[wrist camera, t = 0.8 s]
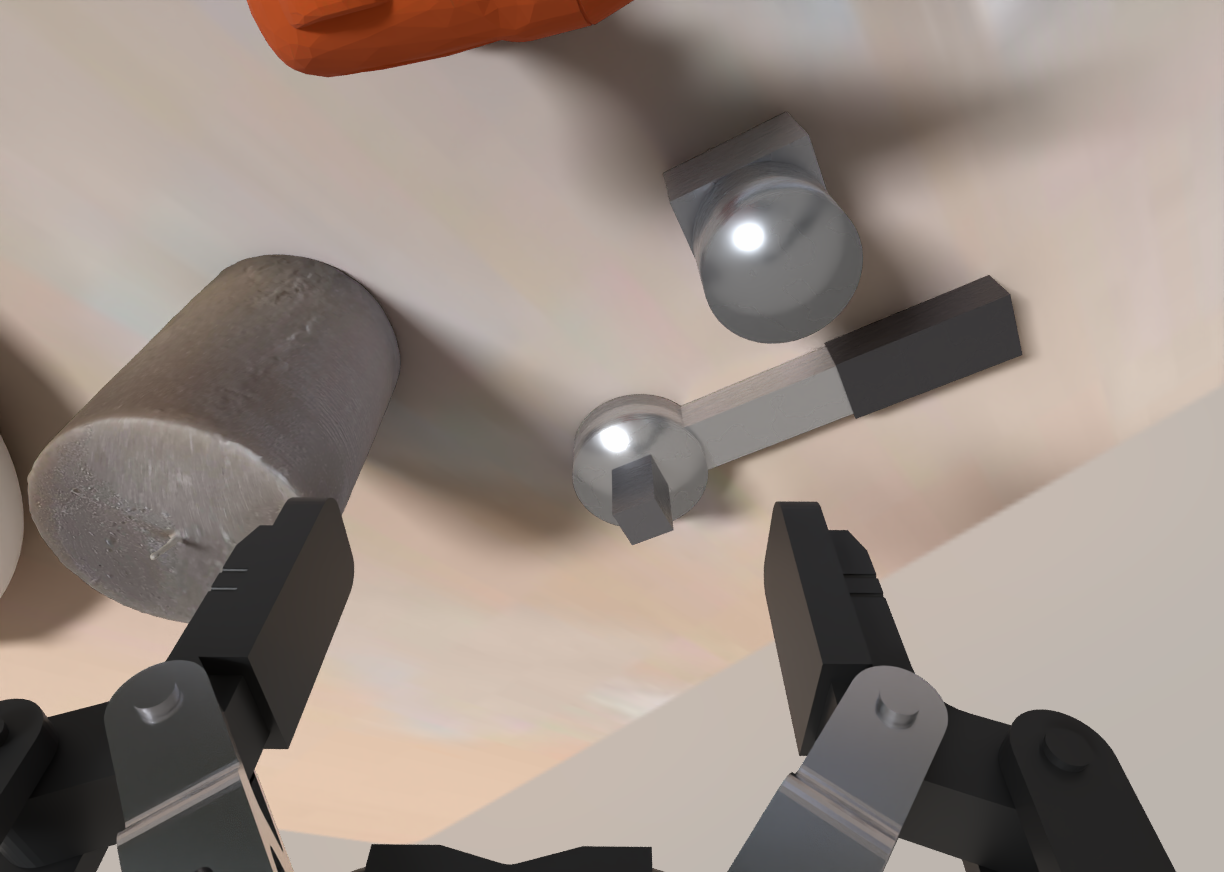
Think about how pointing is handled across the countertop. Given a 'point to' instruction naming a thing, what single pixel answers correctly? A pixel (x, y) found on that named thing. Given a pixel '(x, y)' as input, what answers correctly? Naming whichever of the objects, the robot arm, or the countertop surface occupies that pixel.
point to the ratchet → (780, 405)
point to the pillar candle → (217, 431)
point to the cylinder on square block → (767, 233)
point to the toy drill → (408, 28)
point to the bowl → (9, 518)
